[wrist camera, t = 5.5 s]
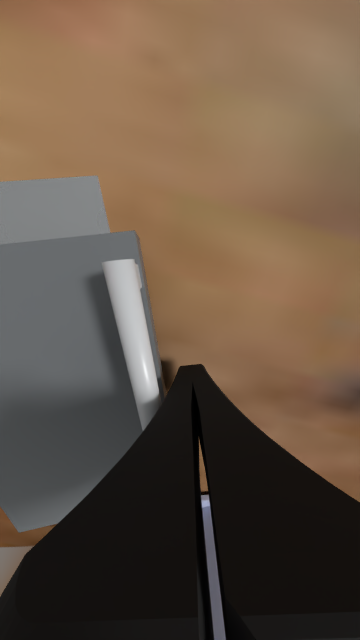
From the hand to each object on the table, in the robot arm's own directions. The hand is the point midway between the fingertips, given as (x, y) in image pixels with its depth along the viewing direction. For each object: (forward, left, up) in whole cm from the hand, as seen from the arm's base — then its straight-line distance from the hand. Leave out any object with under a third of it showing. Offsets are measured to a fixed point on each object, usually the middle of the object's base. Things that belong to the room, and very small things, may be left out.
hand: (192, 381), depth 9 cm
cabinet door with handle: (0, +6, -1) cm, 6 cm away
